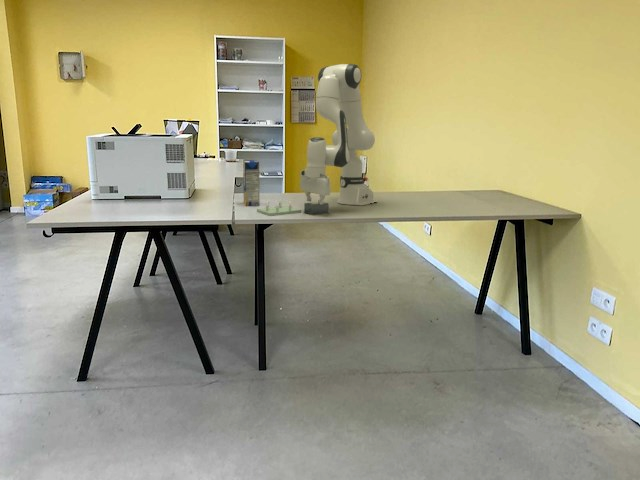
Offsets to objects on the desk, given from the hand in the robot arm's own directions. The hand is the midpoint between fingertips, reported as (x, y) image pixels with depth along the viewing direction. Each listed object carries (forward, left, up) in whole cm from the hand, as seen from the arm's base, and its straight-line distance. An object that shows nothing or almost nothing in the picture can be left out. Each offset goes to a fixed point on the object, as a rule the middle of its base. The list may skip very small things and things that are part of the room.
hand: (314, 202), depth 227 cm
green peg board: (+13, -11, -5) cm, 18 cm away
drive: (-1, 0, -5) cm, 5 cm away
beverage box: (+14, -36, -5) cm, 39 cm away
